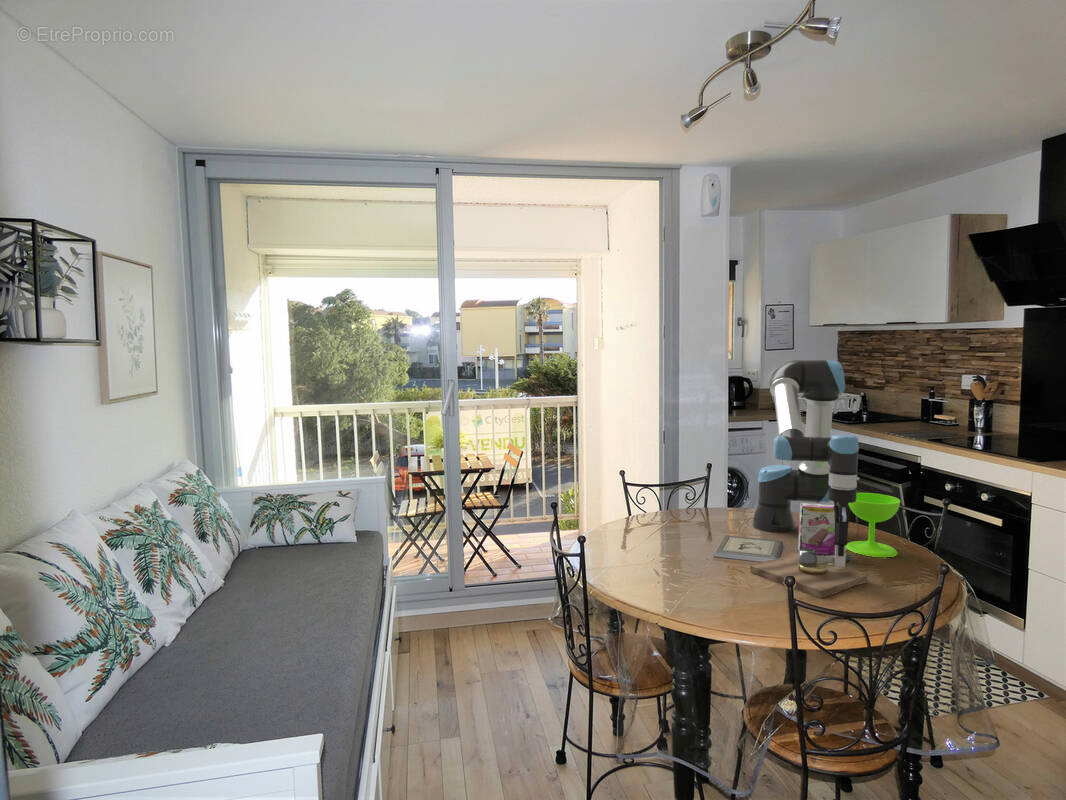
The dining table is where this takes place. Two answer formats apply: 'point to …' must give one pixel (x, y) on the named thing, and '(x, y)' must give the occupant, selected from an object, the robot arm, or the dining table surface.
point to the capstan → (816, 561)
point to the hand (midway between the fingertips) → (839, 565)
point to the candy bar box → (817, 528)
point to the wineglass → (873, 522)
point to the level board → (808, 576)
